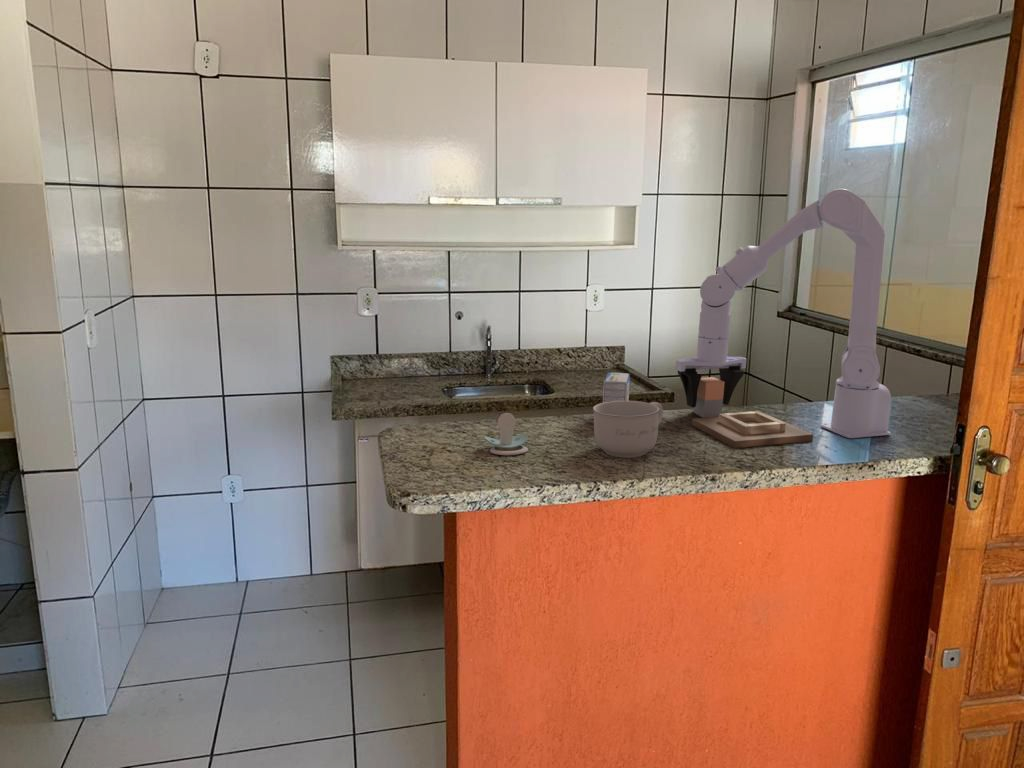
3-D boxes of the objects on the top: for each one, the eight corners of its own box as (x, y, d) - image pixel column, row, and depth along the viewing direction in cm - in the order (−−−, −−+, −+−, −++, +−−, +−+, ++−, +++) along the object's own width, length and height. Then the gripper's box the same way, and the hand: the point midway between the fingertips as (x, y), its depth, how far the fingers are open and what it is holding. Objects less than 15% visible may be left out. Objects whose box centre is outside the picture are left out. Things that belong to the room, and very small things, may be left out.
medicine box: (625, 428, 141) (628, 382, 139) (601, 426, 141) (603, 380, 139) (627, 416, 148) (630, 373, 146) (604, 414, 149) (607, 371, 147)
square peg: (710, 411, 153) (713, 377, 152) (721, 416, 150) (724, 381, 148) (692, 412, 152) (695, 378, 150) (703, 417, 148) (706, 382, 147)
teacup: (615, 467, 120) (618, 418, 118) (578, 447, 129) (580, 401, 127) (685, 455, 126) (688, 408, 124) (645, 437, 135) (647, 393, 133)
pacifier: (533, 456, 125) (523, 444, 130) (535, 420, 123) (524, 409, 129) (490, 459, 123) (481, 446, 128) (491, 422, 121) (482, 411, 127)
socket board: (764, 419, 148) (765, 405, 147) (812, 440, 135) (814, 426, 134) (691, 425, 143) (692, 411, 142) (734, 448, 130) (736, 432, 130)
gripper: (734, 332, 153) (728, 397, 156) (669, 334, 149) (665, 401, 152) (755, 338, 146) (748, 406, 150) (688, 341, 142) (683, 411, 145)
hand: (707, 404), depth 150 cm, fingers open, 7 cm apart
